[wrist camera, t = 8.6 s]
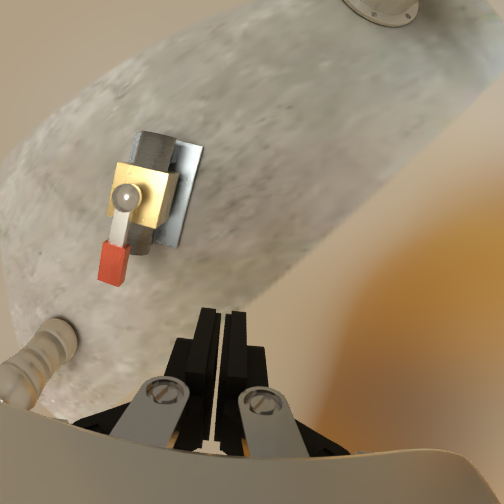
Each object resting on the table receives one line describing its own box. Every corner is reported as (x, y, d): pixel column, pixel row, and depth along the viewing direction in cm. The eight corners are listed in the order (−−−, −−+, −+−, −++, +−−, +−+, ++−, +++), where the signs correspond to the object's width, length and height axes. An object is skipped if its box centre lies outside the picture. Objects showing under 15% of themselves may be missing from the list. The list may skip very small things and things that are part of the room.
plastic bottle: (47, 341, 40) (-21, 418, 21) (48, 306, 39) (-33, 379, 19) (80, 358, 41) (20, 446, 22) (83, 322, 39) (10, 410, 20)
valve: (139, 133, 33) (107, 122, 24) (203, 147, 34) (190, 139, 25) (118, 229, 36) (82, 249, 27) (178, 245, 37) (158, 271, 28)
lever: (121, 180, 25) (114, 181, 24) (145, 186, 25) (140, 188, 24) (102, 274, 27) (96, 279, 26) (125, 281, 28) (119, 287, 26)
